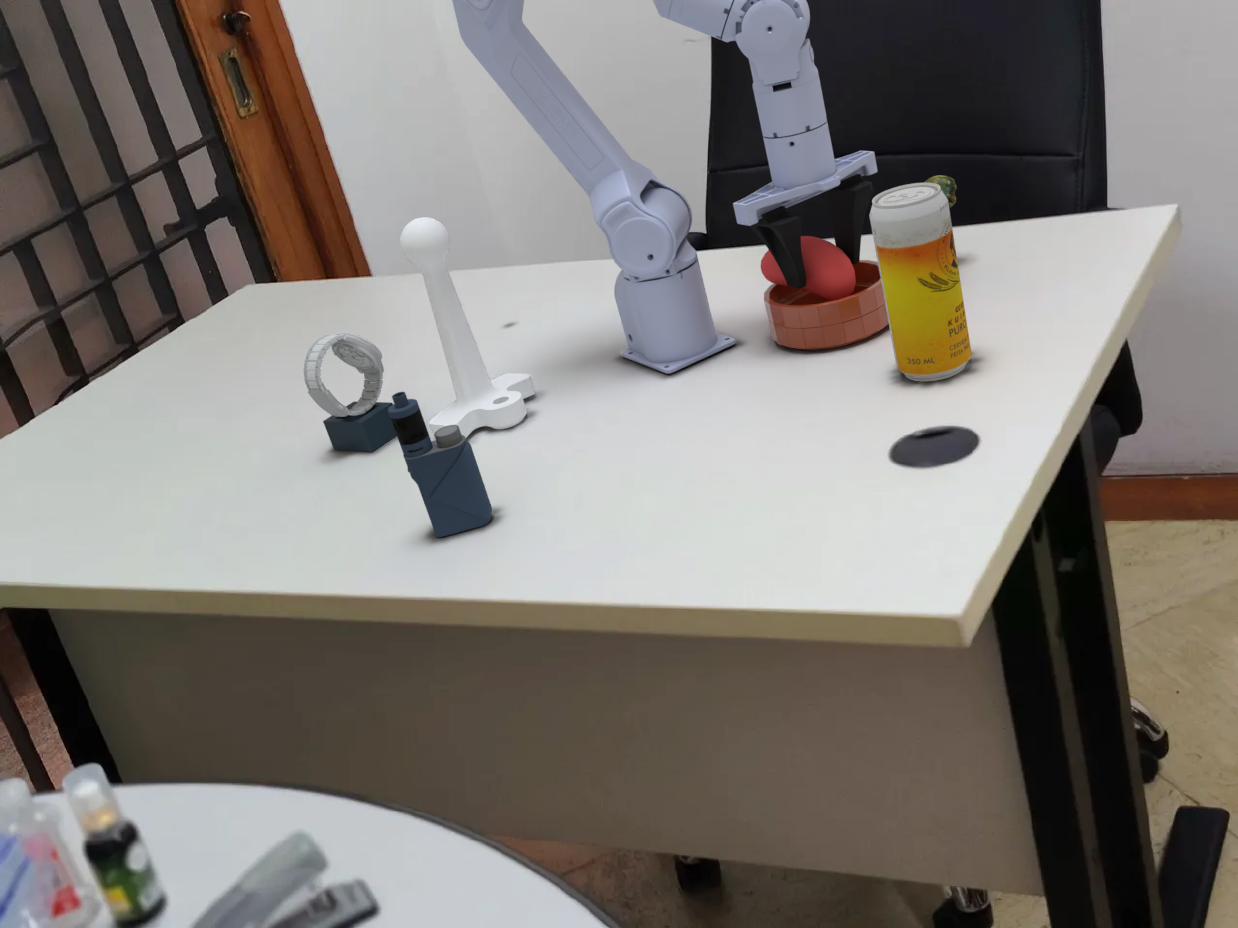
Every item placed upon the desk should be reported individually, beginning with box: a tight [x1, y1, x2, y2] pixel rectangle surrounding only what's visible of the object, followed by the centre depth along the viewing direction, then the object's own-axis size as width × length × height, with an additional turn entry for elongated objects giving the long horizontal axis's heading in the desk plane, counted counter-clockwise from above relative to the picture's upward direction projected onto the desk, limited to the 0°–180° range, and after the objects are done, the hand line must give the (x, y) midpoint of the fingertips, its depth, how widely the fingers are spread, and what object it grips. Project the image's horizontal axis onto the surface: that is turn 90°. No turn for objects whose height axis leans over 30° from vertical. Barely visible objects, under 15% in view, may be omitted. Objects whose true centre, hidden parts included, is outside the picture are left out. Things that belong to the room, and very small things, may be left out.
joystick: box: [399, 216, 537, 441], centre depth 118 cm, size 11×8×20 cm
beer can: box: [868, 182, 973, 382], centre depth 104 cm, size 6×6×15 cm
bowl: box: [763, 259, 889, 351], centre depth 120 cm, size 12×12×4 cm
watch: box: [303, 330, 397, 453], centre depth 124 cm, size 6×8×11 cm
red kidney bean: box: [760, 235, 856, 300], centre depth 120 cm, size 5×9×6 cm, turn 43°
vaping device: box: [388, 391, 493, 538], centre depth 100 cm, size 3×5×12 cm, turn 95°
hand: (823, 273), depth 119 cm, fingers open, 6 cm apart
